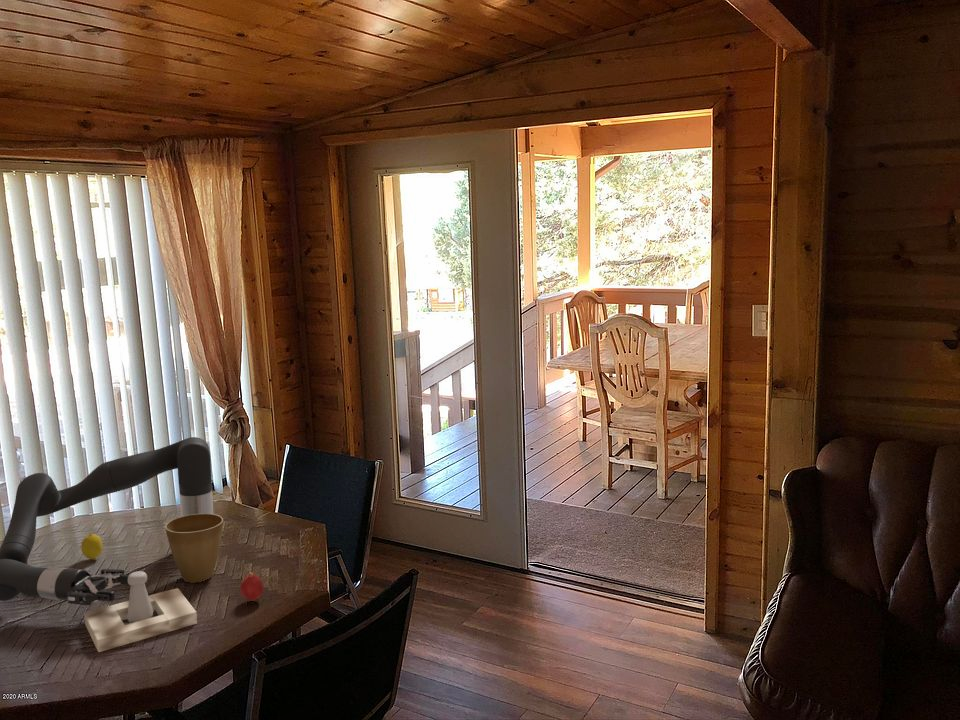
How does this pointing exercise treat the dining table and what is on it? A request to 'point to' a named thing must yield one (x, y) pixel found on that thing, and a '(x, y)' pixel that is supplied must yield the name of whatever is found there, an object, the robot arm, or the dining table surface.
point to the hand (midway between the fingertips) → (124, 588)
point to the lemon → (91, 546)
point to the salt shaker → (138, 598)
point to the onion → (252, 587)
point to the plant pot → (195, 544)
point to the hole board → (114, 633)
